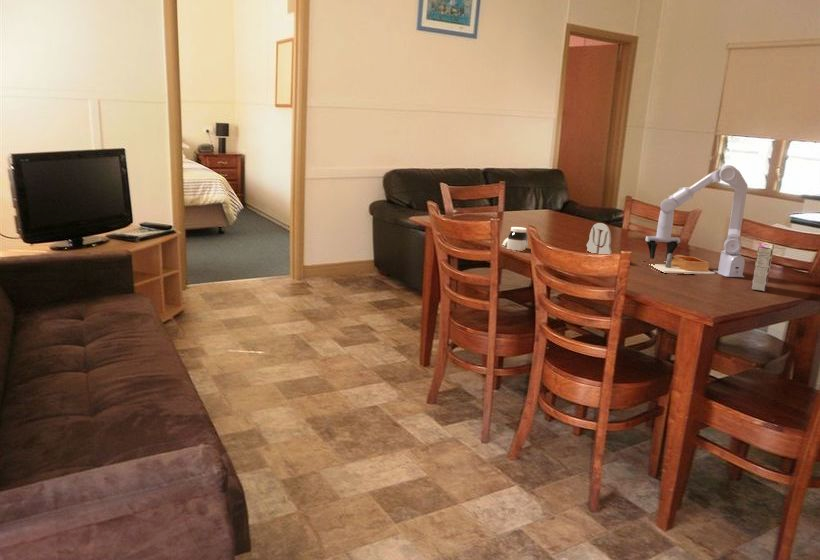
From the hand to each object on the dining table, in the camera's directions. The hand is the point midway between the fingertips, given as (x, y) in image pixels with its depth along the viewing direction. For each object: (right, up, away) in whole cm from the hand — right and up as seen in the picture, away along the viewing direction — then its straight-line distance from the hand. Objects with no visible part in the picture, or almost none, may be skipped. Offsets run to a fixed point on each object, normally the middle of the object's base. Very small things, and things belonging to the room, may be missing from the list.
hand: (659, 258), depth 266 cm
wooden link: (+10, -4, -3) cm, 11 cm away
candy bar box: (+25, -12, -30) cm, 41 cm away
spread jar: (-61, +3, +11) cm, 62 cm away
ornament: (-32, -1, +2) cm, 32 cm away
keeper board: (+5, -5, -4) cm, 8 cm away
